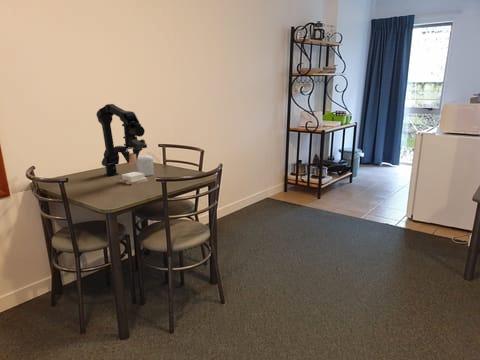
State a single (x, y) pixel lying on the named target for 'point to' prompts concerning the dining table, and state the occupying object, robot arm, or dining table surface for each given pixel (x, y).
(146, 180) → the tower base
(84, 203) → the dining table surface
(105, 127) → the robot arm
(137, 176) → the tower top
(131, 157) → the pink small block
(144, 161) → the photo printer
